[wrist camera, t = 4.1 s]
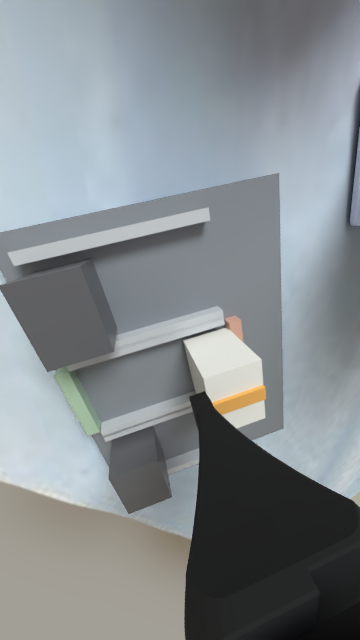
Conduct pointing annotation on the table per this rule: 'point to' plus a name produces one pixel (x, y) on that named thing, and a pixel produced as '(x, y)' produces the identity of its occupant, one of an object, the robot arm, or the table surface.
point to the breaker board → (150, 317)
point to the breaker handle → (228, 375)
